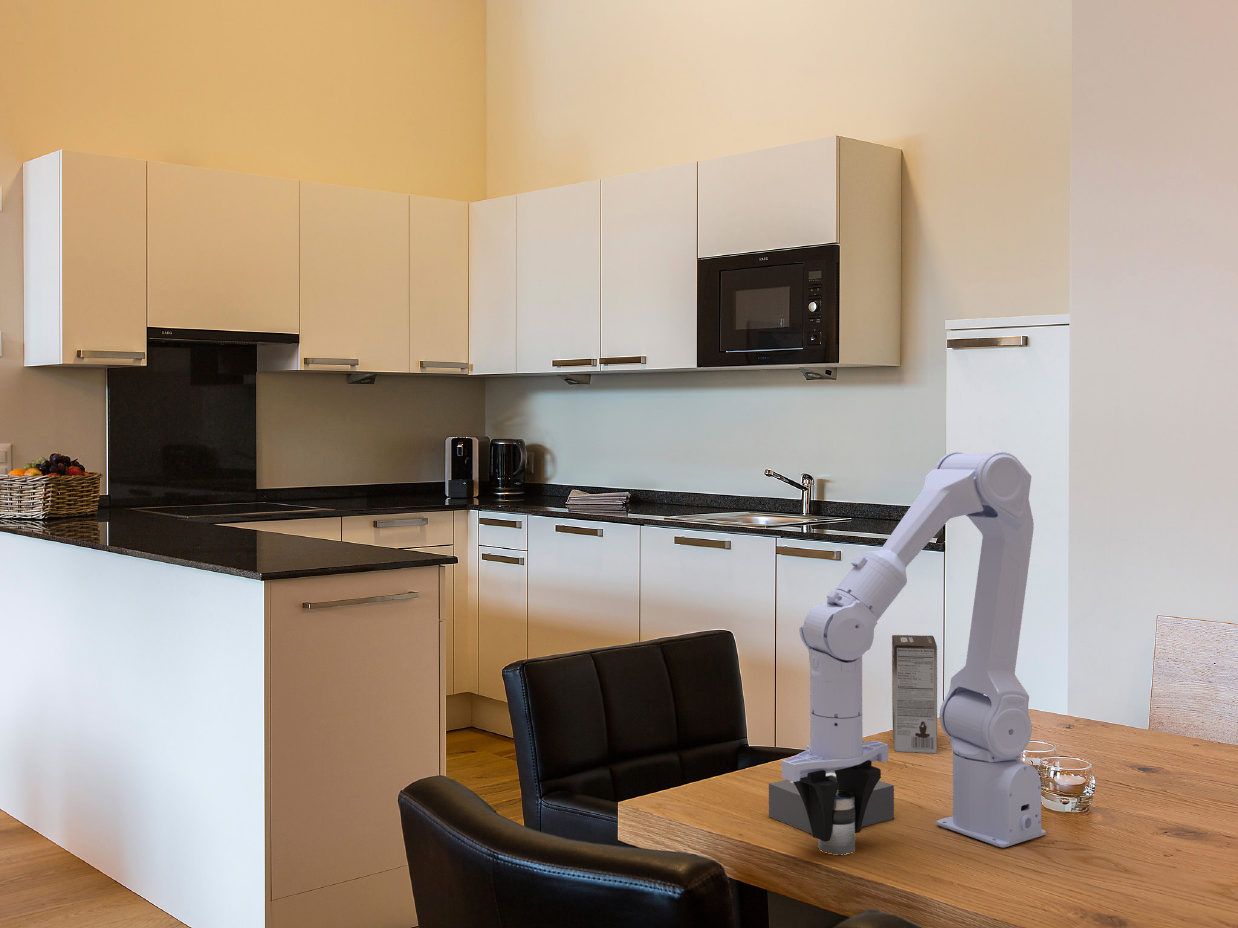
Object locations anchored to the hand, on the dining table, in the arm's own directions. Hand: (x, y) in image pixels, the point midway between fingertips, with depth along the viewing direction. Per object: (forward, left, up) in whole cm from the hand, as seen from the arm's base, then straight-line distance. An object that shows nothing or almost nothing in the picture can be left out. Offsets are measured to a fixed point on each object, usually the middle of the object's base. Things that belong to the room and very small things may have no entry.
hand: (836, 834), depth 120 cm
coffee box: (+25, -41, -2) cm, 48 cm away
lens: (0, 0, -2) cm, 2 cm away
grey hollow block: (+8, -7, -2) cm, 11 cm away
